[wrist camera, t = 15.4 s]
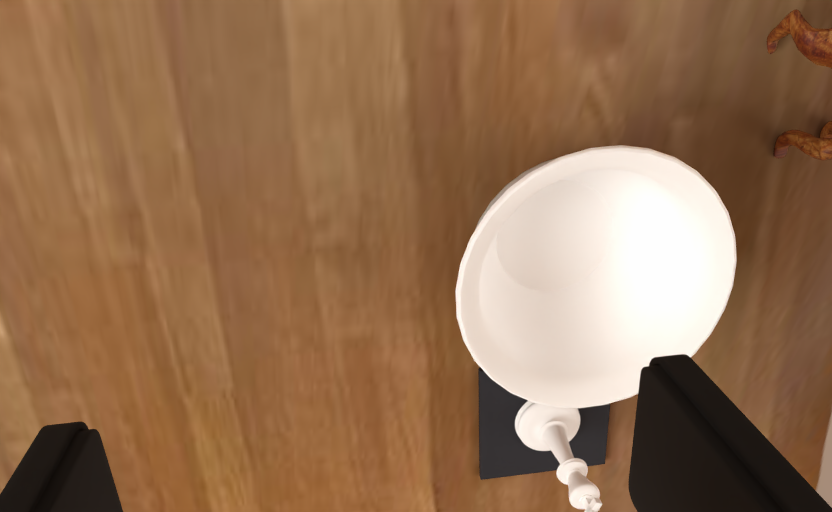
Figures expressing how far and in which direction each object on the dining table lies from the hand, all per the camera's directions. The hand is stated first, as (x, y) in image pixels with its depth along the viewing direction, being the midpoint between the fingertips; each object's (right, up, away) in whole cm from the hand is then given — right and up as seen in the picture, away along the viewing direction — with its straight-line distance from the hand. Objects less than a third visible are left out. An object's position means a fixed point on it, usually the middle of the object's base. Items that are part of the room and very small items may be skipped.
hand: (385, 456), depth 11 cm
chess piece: (+10, -9, +38) cm, 41 cm away
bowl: (+10, +5, +33) cm, 34 cm away
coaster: (+10, -9, +38) cm, 41 cm away
